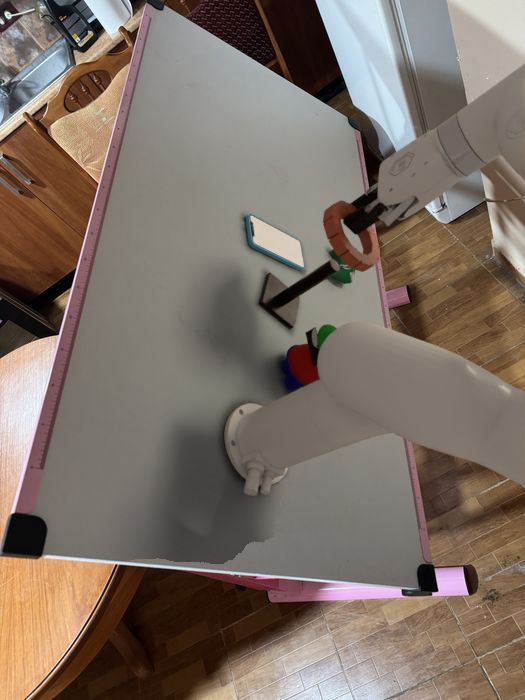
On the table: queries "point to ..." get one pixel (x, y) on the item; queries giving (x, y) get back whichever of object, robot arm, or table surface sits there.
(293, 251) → the smartphone
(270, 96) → the table surface
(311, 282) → the post
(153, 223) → the table surface
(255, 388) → the table surface
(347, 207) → the ring
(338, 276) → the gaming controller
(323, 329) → the toy
